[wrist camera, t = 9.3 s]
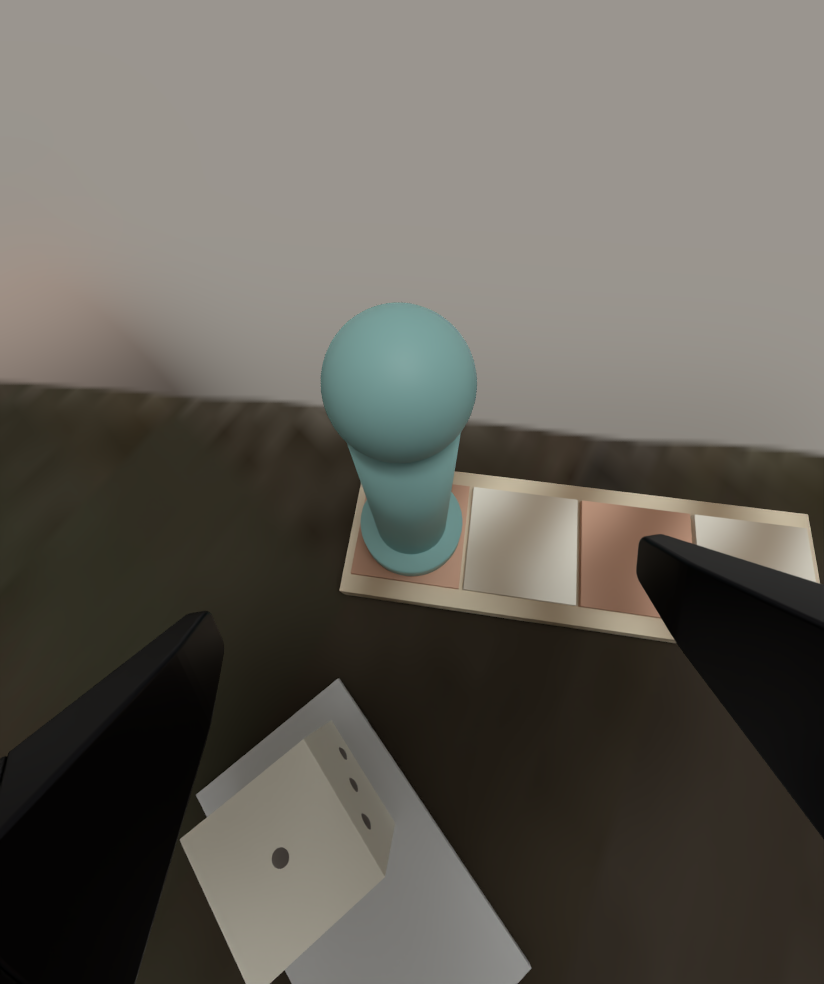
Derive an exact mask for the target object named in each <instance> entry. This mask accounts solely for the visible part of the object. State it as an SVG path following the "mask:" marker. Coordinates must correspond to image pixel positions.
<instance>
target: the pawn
mask: <svg viewBox="0 0 824 984" xmlns="http://www.w3.org/2000/svg"><path fill="white" fill-rule="evenodd" d="M476 390H477V377H476V370H475V365H474V360H473V357H472V354H471V352H470V349H469V348H468V345H467V344H466V342H465V340H464V339H463V337H462V336H461V334H460V333H459V332H458V331H457V329H456V328H455V327H454V326H453V325H452V324H451V323H450V322H448V321H447V320H446V319H445V318H444V317H442V316H441V315H439V314H438V313H436V312H434V311H432V310H430V309H428V308H425V307H422V306H418V305H415V304H410V303H386V304H381V305H377V306H374V307H371V308H369V309H367V310H365V311H363V312H361V313H359V314H358V315H356V316H355V317H353V318H352V319H350V320H349V321H348V322H347V323H346V324H345V325H344V326H343V327H342V328H341V329H340V330H339V332H338V333H337V334H336V335H335V337H334V339H333V340H332V342H331V344H330V346H329V348H328V350H327V352H326V354H325V358H324V361H323V366H322V371H321V393H322V399H323V404H324V407H325V410H326V413H327V415H328V417H329V419H330V421H331V423H332V425H333V427H334V428H335V430H336V431H337V432H338V434H339V435H340V436H341V437H342V438H343V439H344V440H345V441H346V442H347V444H348V447H349V450H350V453H351V456H352V459H353V461H354V464H355V467H356V470H357V473H358V475H359V478H360V481H361V484H362V487H363V490H364V492H365V495H366V498H367V500H366V502H365V504H364V506H363V509H362V513H361V532H362V536H363V539H364V542H365V544H366V546H367V548H368V550H369V552H370V553H371V555H372V556H373V558H374V559H375V560H376V561H377V562H378V563H379V564H380V565H381V566H382V567H384V568H385V569H387V570H388V571H391V572H393V573H395V574H399V575H403V576H421V575H425V574H428V573H431V572H433V571H435V570H437V569H439V568H440V567H441V566H443V565H444V564H445V563H446V562H447V561H448V560H449V559H450V558H451V556H452V555H453V553H454V552H455V550H456V548H457V545H458V542H459V539H460V535H461V532H462V512H461V509H460V505H459V503H458V501H457V499H456V497H455V496H454V494H453V493H452V492H451V490H452V484H453V478H454V471H455V465H456V459H457V453H458V446H459V440H460V434H461V431H462V430H463V428H464V426H465V425H466V423H467V422H468V419H469V417H470V415H471V412H472V409H473V406H474V403H475V398H476Z"/></svg>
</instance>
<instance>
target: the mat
mask: <svg viewBox="0 0 824 984" xmlns="http://www.w3.org/2000/svg"><path fill="white" fill-rule="evenodd" d="M331 720H332V722H333V723H334V725H335V727H336V728H337V730H338V732H339V733H340V735H341V736H342V738H343V740H344V741H345V743H346V744H347V746H348V748H349V749H350V751H351V753H352V754H353V756H354V757H355V759H356V761H357V762H358V764H359V765H360V767H361V769H362V770H363V772H364V773H365V775H366V777H367V778H368V780H369V782H370V783H371V785H372V786H373V788H374V790H375V791H376V793H377V794H378V796H379V798H380V799H381V801H382V803H383V804H384V806H385V807H386V809H387V811H388V812H389V814H390V815H391V817H392V819H393V820H394V822H395V827H394V832H393V837H392V843H391V848H390V853H389V859H388V864H387V869H386V875H385V878H383V879H382V880H381V881H380V882H379V883H378V884H377V885H376V886H375V887H374V888H373V889H372V890H371V891H369V892H368V893H367V894H366V895H365V896H364V897H363V898H362V899H361V900H360V901H359V902H358V903H356V904H355V905H354V906H353V907H352V908H351V909H350V910H349V911H348V912H347V913H346V914H345V915H343V916H342V917H341V918H340V919H339V920H338V921H337V922H336V923H335V924H334V925H333V926H332V927H330V928H329V929H328V930H327V931H326V932H325V933H324V934H323V935H322V936H321V937H320V938H319V939H317V940H316V941H315V942H314V943H313V944H312V945H311V946H310V947H309V948H308V949H307V950H306V951H304V952H303V953H302V954H301V955H300V956H299V957H298V958H297V959H296V960H295V961H294V962H293V963H291V964H290V965H289V966H288V967H287V968H286V969H285V972H286V973H287V975H288V977H289V979H290V981H291V983H292V984H517V983H518V982H519V981H520V980H521V979H522V978H523V977H524V976H525V975H526V974H527V973H528V971H529V970H530V969H531V966H530V963H529V961H528V960H527V958H526V957H525V955H524V954H523V952H522V951H521V949H520V948H519V946H518V945H517V943H516V942H515V940H514V939H513V937H512V936H511V934H510V933H509V931H508V930H507V928H506V927H505V925H504V924H503V922H502V921H501V919H500V918H499V916H498V915H497V913H496V912H495V910H494V909H493V907H492V906H491V904H490V903H489V901H488V900H487V898H486V897H485V895H484V894H483V892H482V891H481V889H480V888H479V886H478V885H477V883H476V882H475V880H474V879H473V877H472V876H471V874H470V873H469V871H468V870H467V868H466V867H465V865H464V864H463V862H462V861H461V859H460V858H459V856H458V855H457V853H456V852H455V850H454V849H453V847H452V846H451V844H450V843H449V842H448V840H447V839H446V837H445V836H444V834H443V833H442V831H441V830H440V828H439V827H438V825H437V824H436V822H435V821H434V819H433V818H432V816H431V815H430V813H429V812H428V810H427V809H426V807H425V806H424V804H423V803H422V801H421V800H420V798H419V797H418V795H417V794H416V792H415V791H414V789H413V788H412V786H411V785H410V783H409V782H408V780H407V779H406V777H405V776H404V774H403V773H402V771H401V770H400V768H399V767H398V765H397V764H396V762H395V761H394V759H393V758H392V756H391V755H390V753H389V752H388V750H387V749H386V747H385V746H384V744H383V743H382V741H381V740H380V738H379V737H378V735H377V734H376V732H375V731H374V729H373V728H372V726H371V725H370V723H369V722H368V720H367V719H366V717H365V716H364V714H363V713H362V711H361V710H360V708H359V707H358V705H357V704H356V702H355V701H354V699H353V698H352V696H351V695H350V693H349V692H348V690H347V689H346V687H345V686H344V684H343V683H342V681H341V680H340V678H338V679H337V680H335V681H334V682H333V683H332V684H331V685H329V686H328V687H327V688H326V689H324V690H323V691H322V692H321V693H320V694H318V695H317V696H316V697H315V698H314V699H312V700H311V701H310V702H309V703H307V704H306V705H305V706H304V707H303V708H301V709H300V710H299V711H298V712H296V713H295V714H294V715H293V716H292V717H290V718H289V719H288V720H287V721H285V722H284V723H283V724H282V725H281V726H279V727H278V728H277V729H276V730H274V731H273V732H272V733H271V734H270V735H268V736H267V737H266V738H265V739H264V740H262V741H261V742H260V743H259V744H257V745H256V746H255V747H254V748H253V749H251V750H250V751H249V752H248V753H246V754H245V755H244V756H243V757H242V758H240V759H239V760H238V761H237V762H235V763H234V764H233V765H232V766H231V767H229V768H228V769H227V770H226V771H224V772H223V773H222V774H221V775H220V776H218V777H217V778H216V779H215V780H214V781H212V782H211V783H210V784H209V785H207V786H206V787H205V788H204V789H203V790H201V791H200V792H199V793H198V794H196V796H197V798H198V800H199V802H200V804H201V806H202V808H203V810H204V812H205V814H206V816H207V817H208V816H209V815H210V814H212V813H213V812H214V811H215V810H217V809H218V808H219V807H220V806H222V805H223V804H224V803H225V802H226V801H228V800H229V799H230V798H231V797H233V796H234V795H235V794H236V793H238V792H239V791H240V790H241V789H242V788H244V787H245V786H246V785H247V784H249V783H250V782H251V781H252V780H254V779H255V778H256V777H257V776H258V775H260V774H261V773H262V772H263V771H265V770H266V769H267V768H268V767H270V766H271V765H272V764H273V763H274V762H276V761H277V760H278V759H279V758H281V757H282V756H283V755H284V754H285V753H287V752H288V751H289V750H290V749H292V748H293V747H294V746H295V745H297V744H298V743H299V742H300V741H301V740H303V739H304V738H306V737H307V736H309V735H310V734H312V733H313V732H315V731H316V730H318V729H319V728H321V727H322V726H324V725H325V724H327V723H328V722H330V721H331Z"/></svg>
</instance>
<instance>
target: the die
mask: <svg viewBox="0 0 824 984" xmlns="http://www.w3.org/2000/svg"><path fill="white" fill-rule="evenodd" d="M394 827H395V822H394V820H393V819H392V817H391V815H390V814H389V812H388V811H387V809H386V807H385V806H384V804H383V803H382V801H381V799H380V798H379V796H378V794H377V793H376V791H375V790H374V788H373V786H372V785H371V783H370V782H369V780H368V778H367V777H366V775H365V773H364V772H363V770H362V769H361V767H360V765H359V764H358V762H357V761H356V759H355V757H354V756H353V754H352V753H351V751H350V749H349V748H348V746H347V744H346V743H345V741H344V740H343V738H342V736H341V735H340V733H339V732H338V730H337V728H336V727H335V725H334V723H333V722H332V720H331V721H330V722H328V723H327V724H325V725H324V726H322V727H321V728H319V729H318V730H316V731H315V732H313V733H312V734H310V735H309V736H307V737H306V738H304V739H303V740H301V741H300V742H299V743H298V744H297V745H295V746H294V747H293V748H292V749H290V750H289V751H288V752H287V753H285V754H284V755H283V756H282V757H281V758H279V759H278V760H277V761H276V762H274V763H273V764H272V765H271V766H270V767H268V768H267V769H266V770H265V771H263V772H262V773H261V774H260V775H258V776H257V777H256V778H255V779H254V780H252V781H251V782H250V783H249V784H247V785H246V786H245V787H244V788H242V789H241V790H240V791H239V792H238V793H236V794H235V795H234V796H233V797H231V798H230V799H229V800H228V801H226V802H225V803H224V804H223V805H222V806H220V807H219V808H218V809H217V810H215V811H214V812H213V813H212V814H210V815H209V816H208V817H207V818H206V819H204V820H203V821H202V822H201V823H199V824H198V825H197V826H196V827H194V828H193V829H192V830H191V831H190V832H188V833H187V834H186V835H185V836H183V837H182V838H181V839H180V842H181V844H182V846H183V848H184V851H185V853H186V855H187V857H188V859H189V861H190V864H191V866H192V868H193V870H194V872H195V874H196V877H197V879H198V881H199V883H200V885H201V887H202V890H203V892H204V894H205V896H206V898H207V900H208V903H209V905H210V907H211V909H212V911H213V913H214V915H215V918H216V920H217V922H218V924H219V926H220V928H221V931H222V933H223V935H224V937H225V939H226V941H227V944H228V946H229V948H230V950H231V952H232V954H233V957H234V959H235V961H236V963H237V965H238V967H239V970H240V972H241V974H242V976H243V978H244V980H245V983H246V984H270V983H271V982H272V981H273V980H274V979H275V978H276V977H277V976H278V975H280V974H281V973H282V972H283V971H284V970H285V969H286V968H287V967H288V966H289V965H290V964H291V963H293V962H294V961H295V960H296V959H297V958H298V957H299V956H300V955H301V954H302V953H303V952H304V951H306V950H307V949H308V948H309V947H310V946H311V945H312V944H313V943H314V942H315V941H316V940H317V939H319V938H320V937H321V936H322V935H323V934H324V933H325V932H326V931H327V930H328V929H329V928H330V927H332V926H333V925H334V924H335V923H336V922H337V921H338V920H339V919H340V918H341V917H342V916H343V915H345V914H346V913H347V912H348V911H349V910H350V909H351V908H352V907H353V906H354V905H355V904H356V903H358V902H359V901H360V900H361V899H362V898H363V897H364V896H365V895H366V894H367V893H368V892H369V891H371V890H372V889H373V888H374V887H375V886H376V885H377V884H378V883H379V882H380V881H381V880H382V879H383V878H385V875H386V869H387V864H388V859H389V853H390V848H391V843H392V837H393V832H394Z"/></svg>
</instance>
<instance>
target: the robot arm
mask: <svg viewBox="0 0 824 984" xmlns="http://www.w3.org/2000/svg"><path fill="white" fill-rule="evenodd" d="M636 574H637V578H638V580H639V582H640V584H641V585H642V587H643V589H644V590H645V592H646V594H647V595H648V597H649V599H650V600H651V602H652V604H653V605H654V607H655V609H656V610H657V612H658V614H659V615H660V617H661V619H662V620H663V622H664V624H665V625H666V627H667V629H668V630H669V632H670V634H671V635H672V637H673V638H674V640H675V641H676V643H677V644H678V646H679V647H680V648H681V650H682V651H683V653H684V654H685V655H686V657H687V658H688V659H689V661H690V662H691V663H692V665H693V666H694V667H695V669H696V670H697V671H698V673H699V674H700V675H701V677H702V678H703V679H704V681H705V682H706V683H707V685H708V686H709V687H710V689H711V690H712V691H713V693H714V694H715V695H716V696H717V698H718V699H719V700H720V702H721V703H722V704H723V706H724V707H725V708H726V710H727V711H728V712H729V714H730V715H731V716H732V718H733V719H734V720H735V722H736V723H737V724H738V726H739V727H740V728H741V730H742V731H743V732H744V734H745V735H746V736H747V738H748V739H749V740H750V742H751V743H752V744H753V746H754V747H755V748H756V750H757V751H758V752H759V754H760V755H761V756H762V758H763V759H764V760H765V762H766V763H767V764H768V766H769V767H770V768H771V770H772V771H773V772H774V774H775V775H776V776H777V778H778V779H779V780H780V782H781V783H782V784H783V786H784V787H785V788H786V790H787V791H788V792H789V794H790V795H791V796H792V798H793V799H794V800H795V802H796V803H797V804H798V806H799V807H800V808H801V810H802V811H803V812H804V814H805V815H806V816H807V818H808V819H809V820H810V822H811V823H812V824H813V826H814V827H815V828H816V830H817V831H818V832H819V834H820V835H821V836H822V838H823V839H824V585H823V584H820V583H816V582H813V581H810V580H807V579H804V578H800V577H797V576H794V575H791V574H788V573H785V572H781V571H778V570H775V569H772V568H769V567H765V566H762V565H759V564H756V563H753V562H750V561H746V560H743V559H740V558H737V557H734V556H730V555H727V554H724V553H721V552H718V551H715V550H711V549H708V548H705V547H702V546H699V545H695V544H692V543H689V542H686V541H683V540H680V539H676V538H673V537H670V536H667V535H664V534H656V535H650V536H644V537H642V538H641V539H640V541H639V544H638V554H637V564H636ZM223 655H224V643H223V640H222V637H221V635H220V632H219V630H218V628H217V625H216V623H215V621H214V618H213V616H212V614H211V613H210V612H208V611H202V612H196V613H190V614H187V615H186V616H184V617H183V618H182V619H180V620H179V621H178V622H176V623H175V624H174V625H173V626H171V627H170V628H169V629H167V630H166V631H165V632H164V633H162V634H161V635H160V636H158V637H157V638H156V639H154V640H153V641H152V642H151V643H149V644H148V645H147V646H145V647H144V648H143V649H142V650H140V651H139V652H138V653H136V654H135V655H134V656H133V657H131V658H130V659H129V660H127V661H126V662H125V663H124V664H122V665H121V666H120V667H118V668H117V669H116V670H114V671H113V672H112V673H111V674H109V675H108V676H107V677H105V678H104V679H103V680H102V681H100V682H99V683H98V684H96V685H95V686H94V687H93V688H91V689H90V690H89V691H87V692H86V693H85V694H84V695H82V696H81V697H80V698H78V699H77V700H76V701H74V702H73V703H72V704H71V705H69V706H68V707H67V708H65V709H64V710H63V711H62V712H60V713H59V714H58V715H56V716H55V717H54V718H53V719H51V720H50V721H49V722H47V723H46V724H45V725H44V726H42V727H41V728H40V729H38V730H37V731H36V732H34V733H33V734H32V735H31V736H29V737H28V738H27V739H25V740H24V741H23V742H22V743H20V744H19V745H18V746H16V747H15V748H14V749H13V750H11V751H10V752H9V753H8V756H7V757H6V756H4V757H2V758H1V759H0V984H135V982H136V979H137V975H138V972H139V969H140V965H141V962H142V958H143V955H144V952H145V948H146V945H147V941H148V938H149V934H150V931H151V928H152V924H153V921H154V917H155V914H156V911H157V907H158V904H159V900H160V897H161V894H162V890H163V887H164V883H165V880H166V876H167V873H168V870H169V866H170V863H171V859H172V856H173V853H174V849H175V846H176V842H177V839H178V836H179V832H180V829H181V825H182V822H183V818H184V815H185V812H186V808H187V805H188V801H189V798H190V795H191V791H192V788H193V784H194V781H195V777H196V774H197V771H198V767H199V764H200V760H201V757H202V754H203V750H204V747H205V743H206V740H207V736H208V733H209V729H210V725H211V721H212V716H213V711H214V705H215V700H216V694H217V689H218V683H219V677H220V672H221V666H222V661H223Z"/></svg>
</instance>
